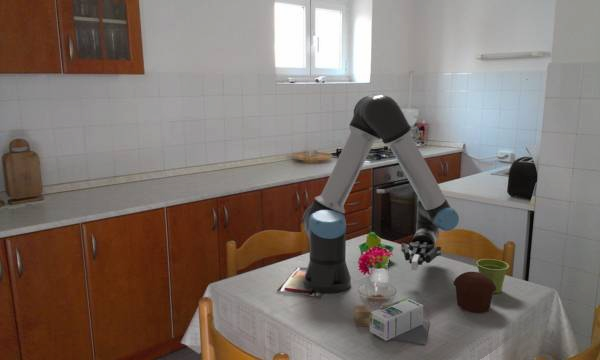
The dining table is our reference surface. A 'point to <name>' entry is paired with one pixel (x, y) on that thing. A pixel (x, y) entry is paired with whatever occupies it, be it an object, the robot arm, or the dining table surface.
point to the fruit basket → (373, 243)
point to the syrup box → (396, 318)
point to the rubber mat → (414, 335)
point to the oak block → (362, 315)
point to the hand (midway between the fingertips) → (413, 265)
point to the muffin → (474, 292)
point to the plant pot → (493, 271)
